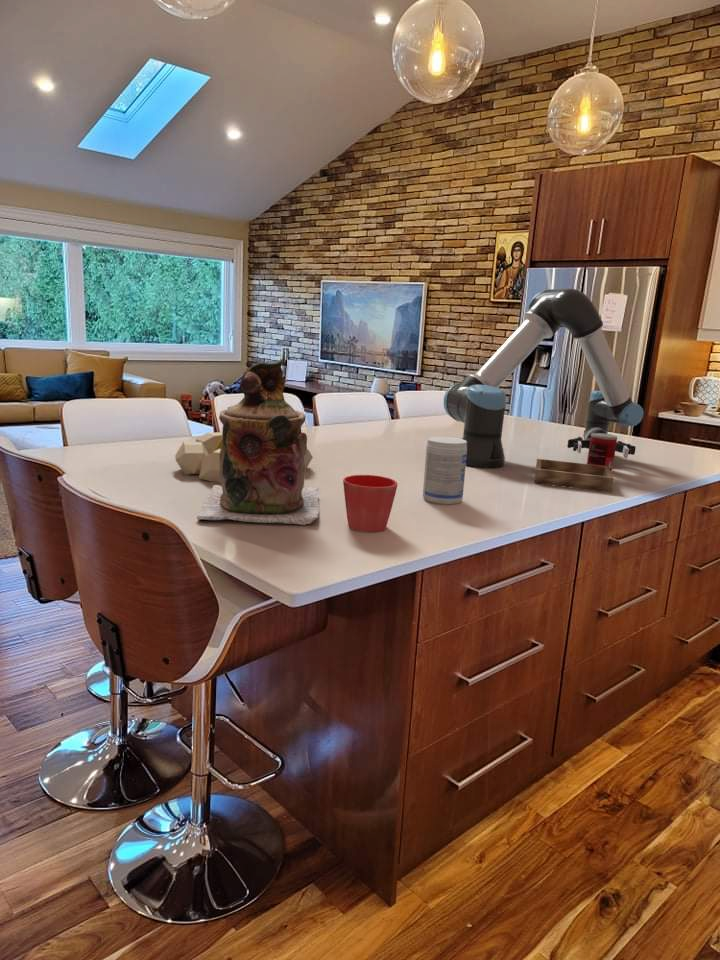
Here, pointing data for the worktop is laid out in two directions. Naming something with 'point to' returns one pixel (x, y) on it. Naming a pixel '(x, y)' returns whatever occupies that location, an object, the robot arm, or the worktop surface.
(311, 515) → the cookie jar
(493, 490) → the worktop surface
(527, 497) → the worktop surface
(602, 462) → the canned food
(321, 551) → the worktop surface
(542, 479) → the crate
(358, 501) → the flower pot
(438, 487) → the supplement tub
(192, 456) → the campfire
